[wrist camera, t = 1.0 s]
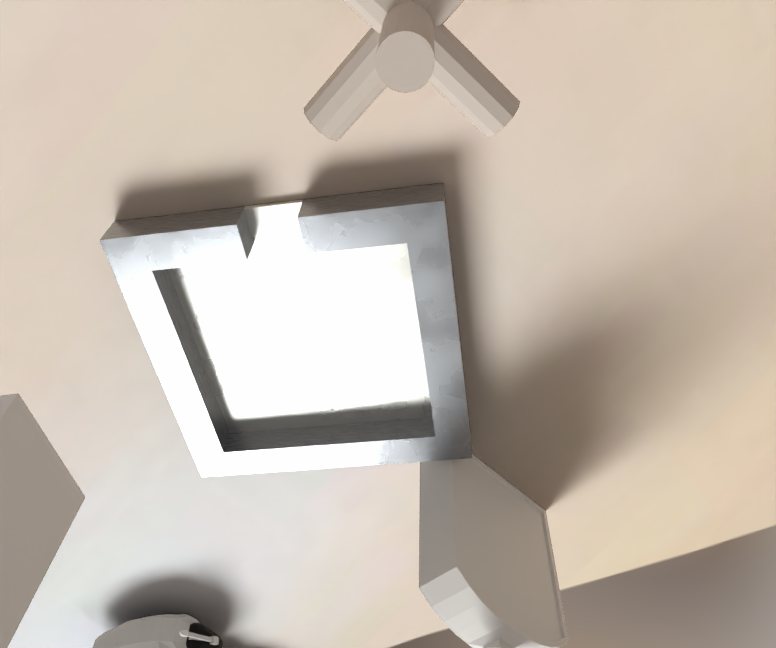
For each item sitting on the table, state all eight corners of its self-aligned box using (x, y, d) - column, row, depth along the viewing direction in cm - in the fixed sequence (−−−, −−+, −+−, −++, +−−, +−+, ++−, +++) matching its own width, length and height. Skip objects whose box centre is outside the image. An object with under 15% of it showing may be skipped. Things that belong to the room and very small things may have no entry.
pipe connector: (415, 157, 34) (412, 263, 25) (245, 5, 30) (177, 72, 22) (582, -12, 29) (643, 52, 21) (404, -215, 25) (394, -233, 17)
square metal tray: (209, 454, 46) (201, 477, 44) (114, 221, 36) (99, 240, 35) (470, 434, 44) (472, 458, 42) (443, 182, 34) (444, 200, 33)
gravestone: (514, 528, 49) (552, 829, 34) (420, 458, 45) (417, 761, 31) (545, 510, 48) (598, 815, 33) (451, 437, 44) (463, 742, 30)
